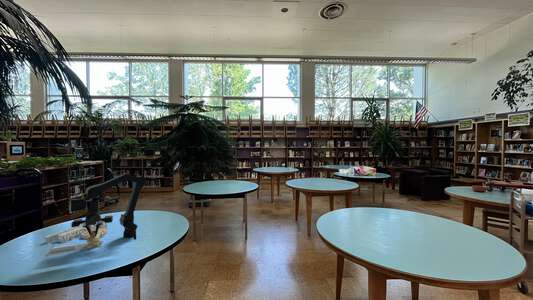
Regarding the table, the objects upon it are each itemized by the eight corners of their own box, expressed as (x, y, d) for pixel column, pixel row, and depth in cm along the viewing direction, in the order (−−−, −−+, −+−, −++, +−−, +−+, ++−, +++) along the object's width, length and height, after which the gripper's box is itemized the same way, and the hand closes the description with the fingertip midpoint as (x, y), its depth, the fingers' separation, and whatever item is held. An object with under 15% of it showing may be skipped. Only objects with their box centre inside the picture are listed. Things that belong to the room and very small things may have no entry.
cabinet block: (99, 242, 142) (99, 229, 142) (98, 246, 137) (97, 232, 136) (89, 244, 140) (89, 230, 139) (87, 248, 134) (86, 233, 134)
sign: (89, 221, 175) (125, 224, 168) (89, 227, 175) (125, 229, 169) (43, 237, 145) (84, 241, 139) (43, 244, 145) (85, 248, 139)
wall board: (103, 243, 144) (103, 237, 144) (100, 249, 135) (100, 243, 135) (51, 251, 134) (51, 245, 133) (44, 259, 125) (44, 252, 125)
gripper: (68, 214, 126) (68, 244, 127) (110, 210, 135) (111, 237, 135) (73, 209, 136) (74, 237, 137) (112, 205, 145) (113, 231, 145)
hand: (93, 236), depth 138 cm, fingers closed on cabinet block
